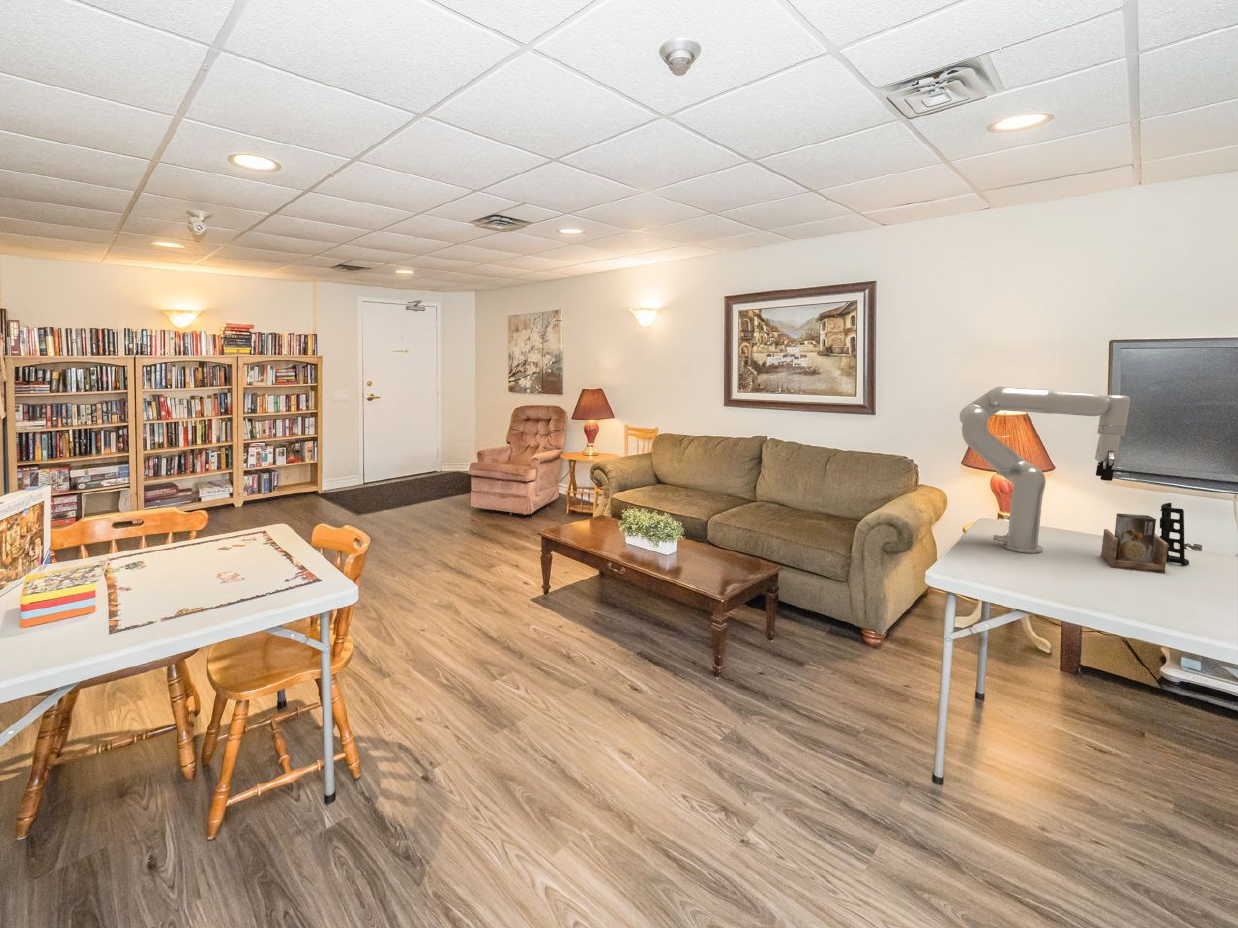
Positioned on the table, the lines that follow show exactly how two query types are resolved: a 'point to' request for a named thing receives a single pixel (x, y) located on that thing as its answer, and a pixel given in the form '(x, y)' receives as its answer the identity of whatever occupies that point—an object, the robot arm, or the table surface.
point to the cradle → (1156, 566)
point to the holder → (1168, 527)
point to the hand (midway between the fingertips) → (1103, 478)
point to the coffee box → (1135, 537)
